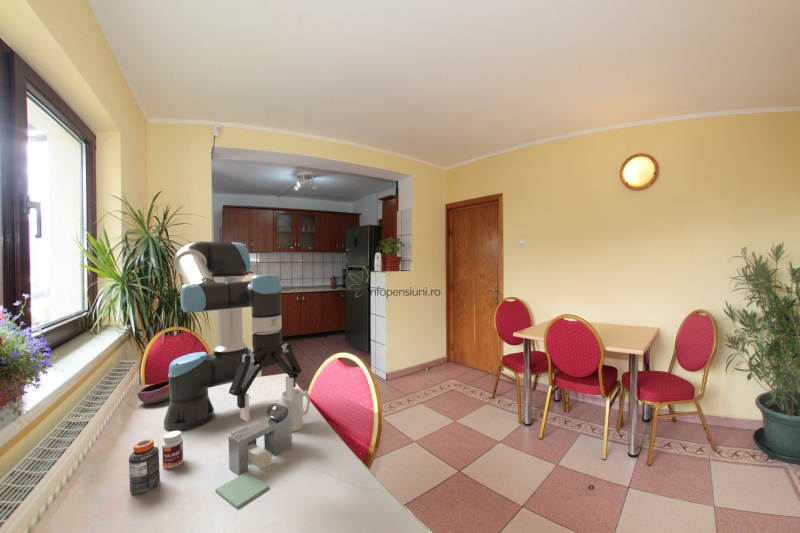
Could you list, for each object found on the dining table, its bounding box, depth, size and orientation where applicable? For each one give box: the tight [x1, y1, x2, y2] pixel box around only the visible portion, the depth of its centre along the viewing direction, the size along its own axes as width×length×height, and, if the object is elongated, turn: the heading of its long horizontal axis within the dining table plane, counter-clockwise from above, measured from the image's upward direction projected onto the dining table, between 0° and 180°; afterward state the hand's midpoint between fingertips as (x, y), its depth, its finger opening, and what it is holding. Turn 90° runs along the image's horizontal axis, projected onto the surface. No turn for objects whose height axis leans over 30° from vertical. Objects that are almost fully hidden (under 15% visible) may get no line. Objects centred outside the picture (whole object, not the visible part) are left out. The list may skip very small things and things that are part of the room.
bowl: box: [137, 379, 170, 404], centre depth 135 cm, size 16×13×8 cm
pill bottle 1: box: [128, 438, 161, 495], centre depth 81 cm, size 6×6×11 cm
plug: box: [230, 426, 272, 470], centre depth 93 cm, size 15×5×6 cm, turn 55°
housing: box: [228, 402, 293, 476], centre depth 93 cm, size 5×16×13 cm, turn 145°
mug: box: [281, 388, 311, 432], centre depth 111 cm, size 10×7×12 cm, turn 139°
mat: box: [215, 471, 270, 510], centre depth 79 cm, size 10×8×1 cm
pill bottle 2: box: [161, 431, 184, 469], centre depth 91 cm, size 5×5×8 cm
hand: (268, 409), depth 88 cm, fingers open, 13 cm apart
